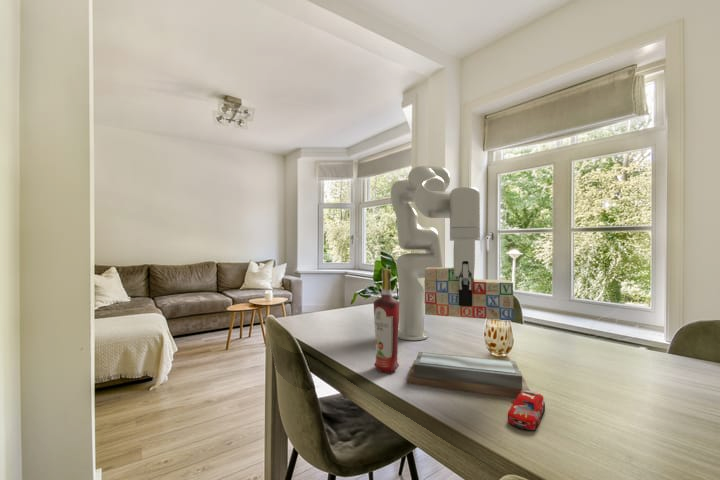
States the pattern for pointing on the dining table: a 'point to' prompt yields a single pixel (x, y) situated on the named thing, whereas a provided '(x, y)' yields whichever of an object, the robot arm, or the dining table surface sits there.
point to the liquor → (386, 327)
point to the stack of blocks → (486, 296)
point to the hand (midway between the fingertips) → (465, 302)
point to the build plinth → (467, 374)
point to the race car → (527, 410)
